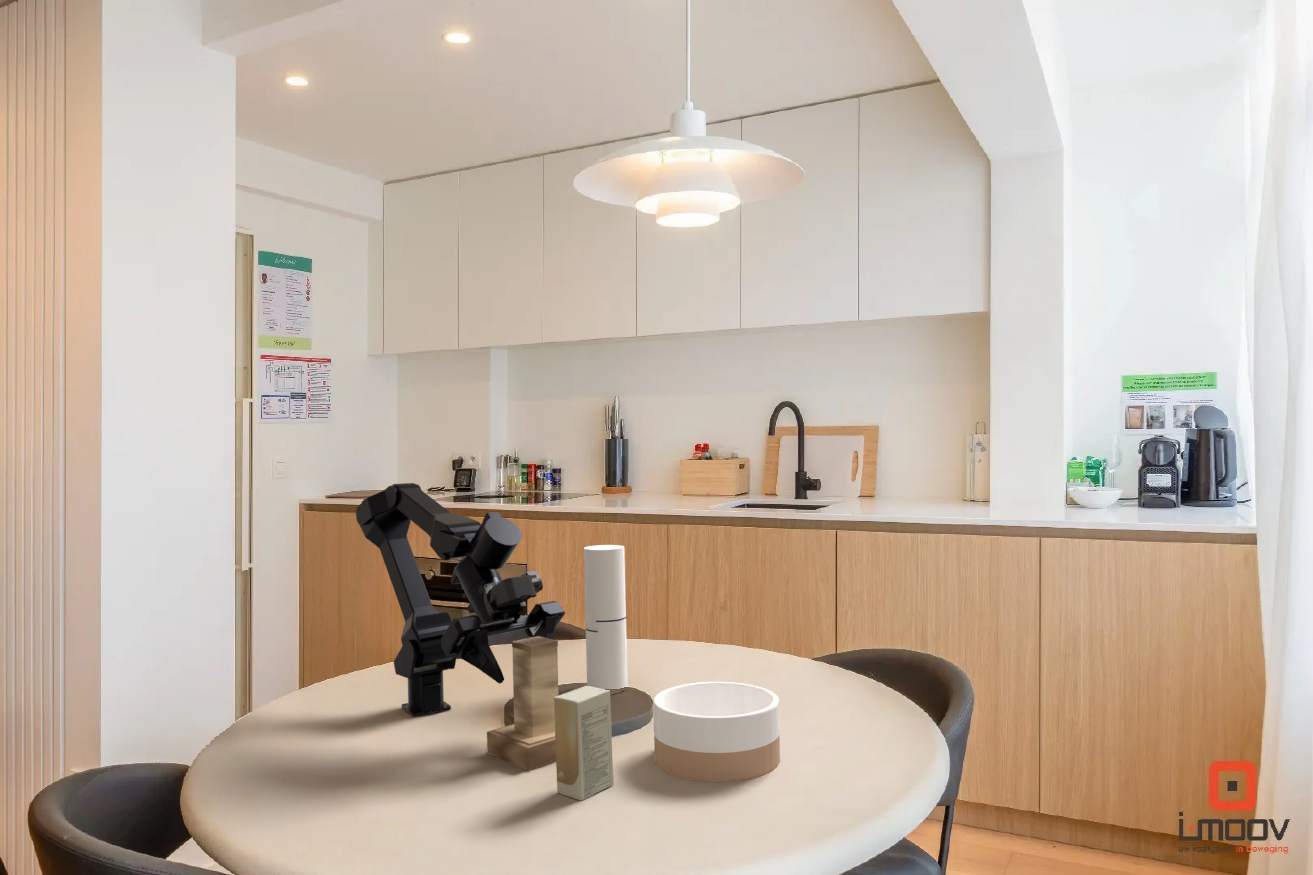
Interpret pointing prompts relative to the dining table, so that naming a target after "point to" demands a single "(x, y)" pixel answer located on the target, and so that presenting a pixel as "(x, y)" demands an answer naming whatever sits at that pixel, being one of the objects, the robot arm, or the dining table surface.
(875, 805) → the dining table surface
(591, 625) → the cylindrical container
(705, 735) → the bowl
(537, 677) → the oak block
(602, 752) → the skincare box
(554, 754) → the plinth
